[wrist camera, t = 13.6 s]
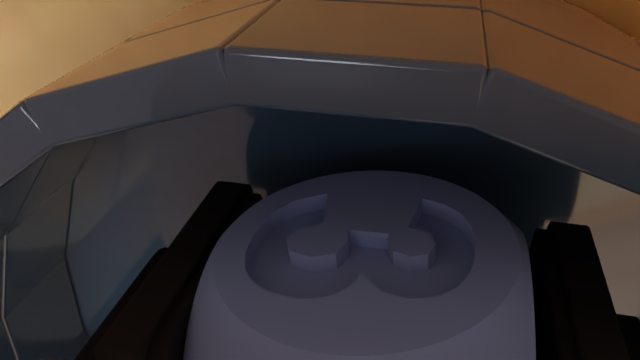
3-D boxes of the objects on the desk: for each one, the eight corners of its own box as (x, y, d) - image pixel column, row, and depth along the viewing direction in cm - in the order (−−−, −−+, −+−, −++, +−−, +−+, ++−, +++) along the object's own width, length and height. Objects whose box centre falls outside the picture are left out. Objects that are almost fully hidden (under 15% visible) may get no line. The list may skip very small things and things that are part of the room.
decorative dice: (502, 364, 10) (518, 612, 7) (290, 343, 11) (215, 553, 8) (518, 169, 9) (550, 386, 5) (261, 164, 9) (146, 344, 6)
